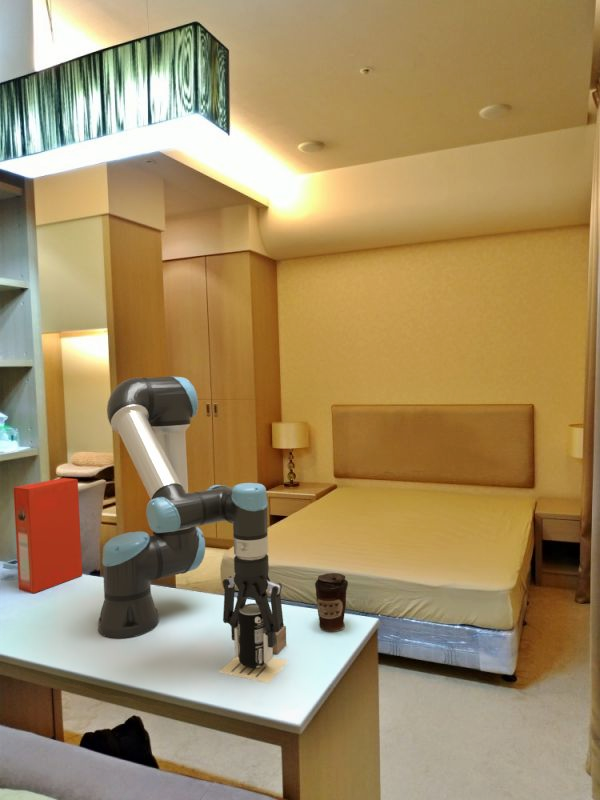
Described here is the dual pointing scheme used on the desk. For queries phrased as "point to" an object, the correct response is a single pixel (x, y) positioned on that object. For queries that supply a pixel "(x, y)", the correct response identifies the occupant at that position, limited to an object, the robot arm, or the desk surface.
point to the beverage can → (251, 636)
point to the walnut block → (280, 640)
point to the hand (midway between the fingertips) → (253, 657)
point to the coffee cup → (331, 601)
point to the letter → (255, 669)
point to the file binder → (47, 533)
